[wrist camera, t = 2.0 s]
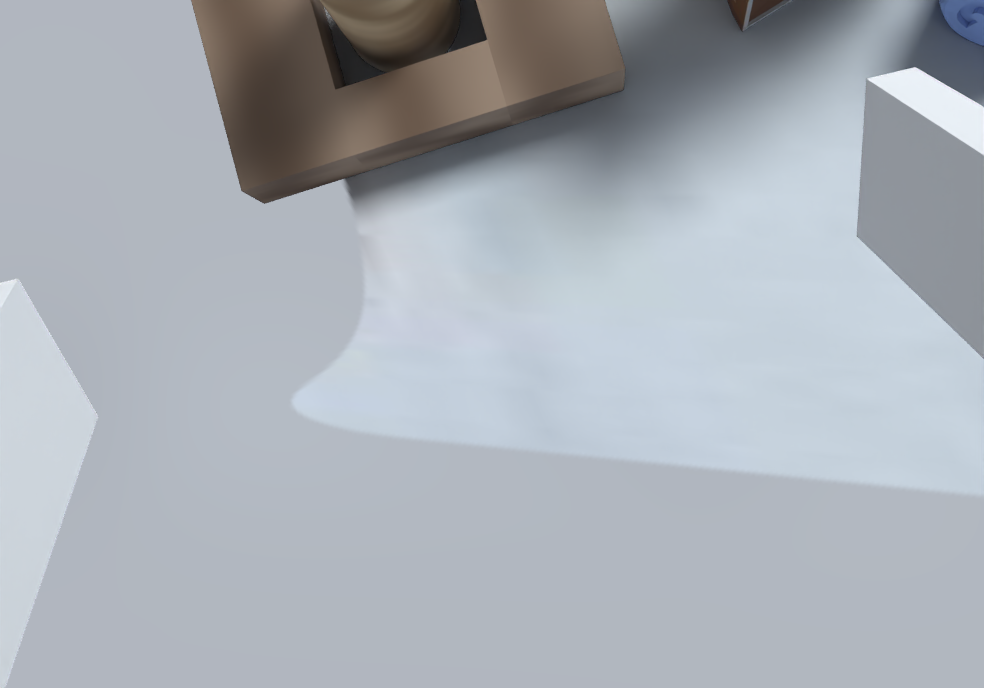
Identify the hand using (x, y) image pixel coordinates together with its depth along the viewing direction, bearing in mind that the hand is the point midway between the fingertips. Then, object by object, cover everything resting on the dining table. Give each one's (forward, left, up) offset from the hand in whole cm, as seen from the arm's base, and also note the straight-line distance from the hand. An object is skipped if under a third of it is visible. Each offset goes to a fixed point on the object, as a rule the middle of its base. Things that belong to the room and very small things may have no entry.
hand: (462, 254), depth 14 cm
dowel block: (+2, -15, -23) cm, 28 cm away
